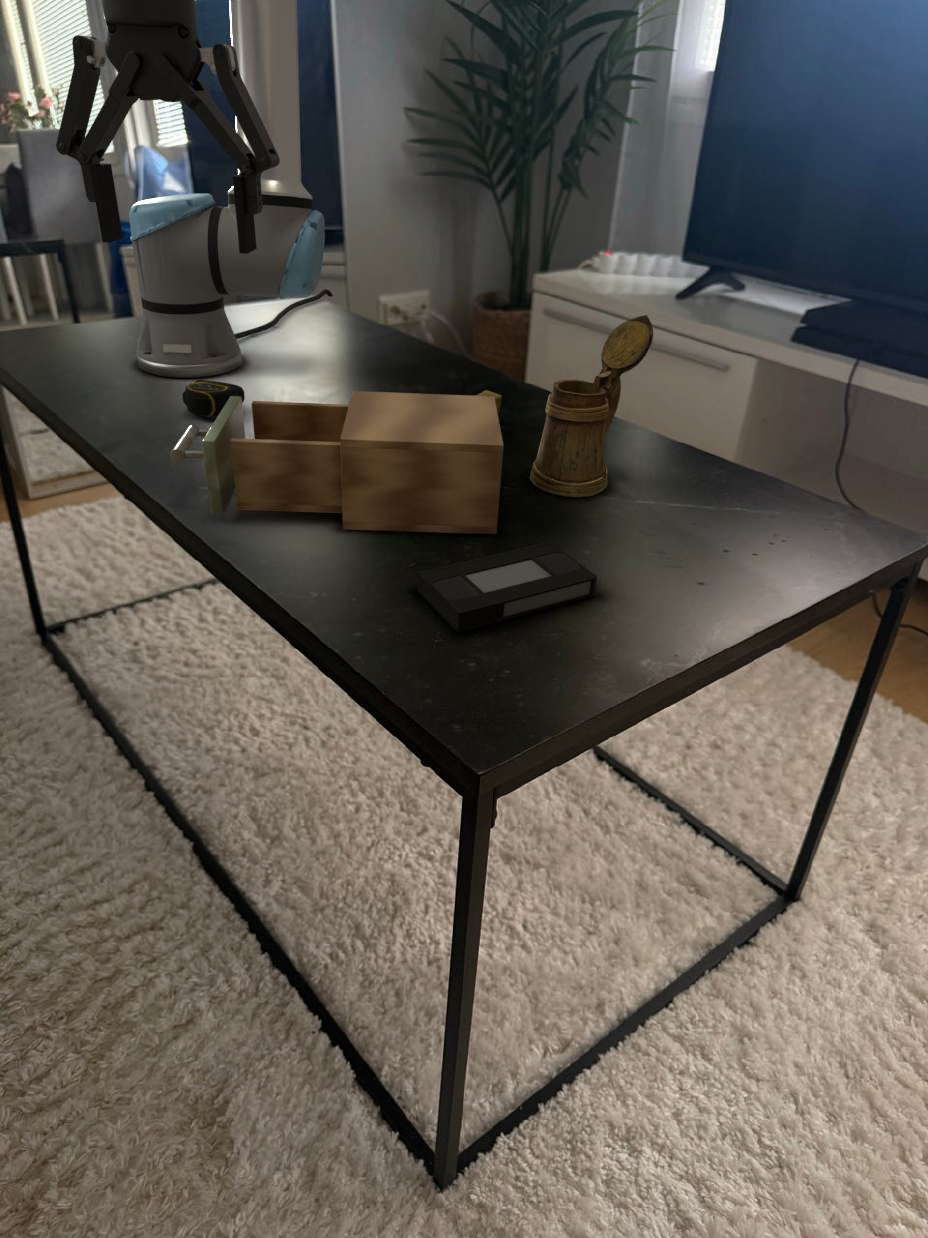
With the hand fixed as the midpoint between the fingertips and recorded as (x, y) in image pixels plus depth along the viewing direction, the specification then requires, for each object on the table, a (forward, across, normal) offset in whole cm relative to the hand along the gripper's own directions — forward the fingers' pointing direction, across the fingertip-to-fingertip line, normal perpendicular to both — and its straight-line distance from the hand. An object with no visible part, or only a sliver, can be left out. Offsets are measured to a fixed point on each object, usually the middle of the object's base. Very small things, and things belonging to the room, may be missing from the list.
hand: (180, 245), depth 81 cm
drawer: (+23, +9, -4) cm, 25 cm away
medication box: (+24, +27, +20) cm, 42 cm away
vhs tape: (+24, +35, -19) cm, 47 cm away
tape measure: (+24, -7, +20) cm, 32 cm away
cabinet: (+24, +24, -2) cm, 34 cm away
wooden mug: (+24, +42, +9) cm, 49 cm away
